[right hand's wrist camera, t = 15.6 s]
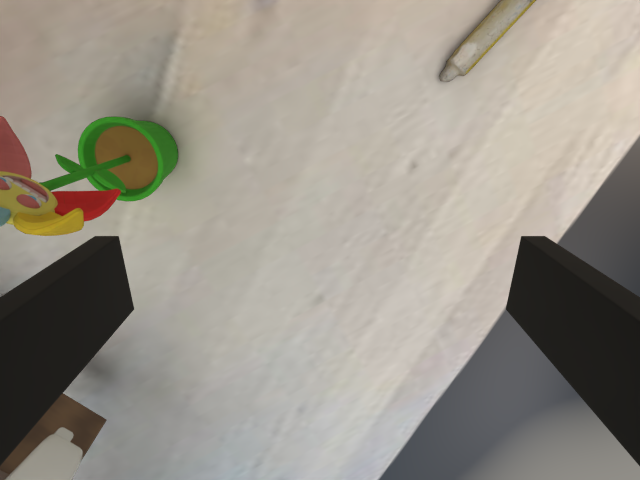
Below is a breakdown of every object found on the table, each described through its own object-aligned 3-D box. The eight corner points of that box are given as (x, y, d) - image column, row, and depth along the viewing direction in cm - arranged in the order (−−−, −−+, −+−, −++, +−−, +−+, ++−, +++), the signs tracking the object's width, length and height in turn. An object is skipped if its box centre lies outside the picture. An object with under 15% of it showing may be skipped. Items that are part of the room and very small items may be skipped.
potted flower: (203, 146, 41) (50, 219, 18) (168, 201, 43) (-9, 330, 20) (124, 89, 39) (-169, 87, 15) (92, 151, 41) (-206, 229, 18)
